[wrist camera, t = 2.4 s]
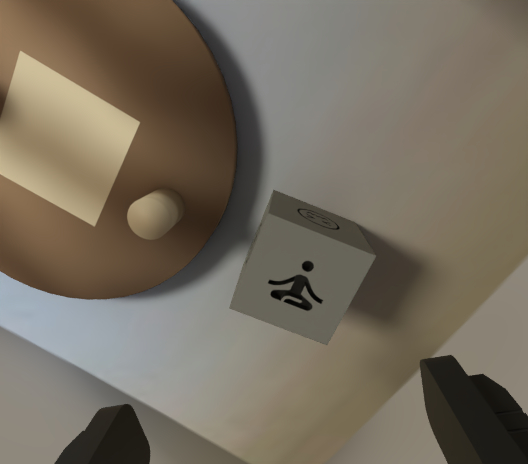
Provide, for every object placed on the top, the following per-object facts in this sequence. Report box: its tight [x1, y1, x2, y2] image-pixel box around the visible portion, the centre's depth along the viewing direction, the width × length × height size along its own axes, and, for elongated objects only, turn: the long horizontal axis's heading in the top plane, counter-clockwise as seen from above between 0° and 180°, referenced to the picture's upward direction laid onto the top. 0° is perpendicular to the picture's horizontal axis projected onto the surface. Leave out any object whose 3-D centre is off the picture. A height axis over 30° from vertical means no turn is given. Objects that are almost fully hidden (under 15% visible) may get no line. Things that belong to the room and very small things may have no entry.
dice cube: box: [229, 190, 376, 345], centre depth 18 cm, size 5×5×5 cm
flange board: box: [0, 0, 237, 299], centre depth 17 cm, size 18×18×4 cm
